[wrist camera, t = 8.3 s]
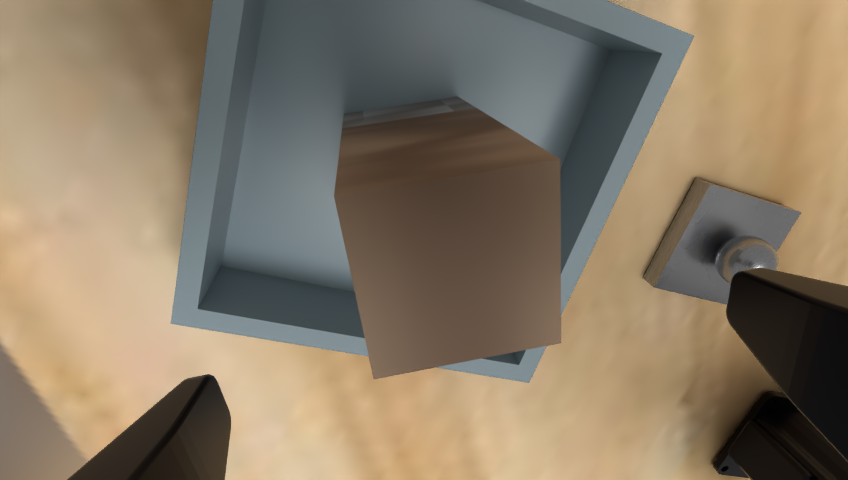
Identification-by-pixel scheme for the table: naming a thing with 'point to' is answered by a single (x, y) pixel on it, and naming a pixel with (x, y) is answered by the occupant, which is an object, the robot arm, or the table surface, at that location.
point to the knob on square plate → (718, 241)
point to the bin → (386, 87)
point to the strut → (448, 235)
